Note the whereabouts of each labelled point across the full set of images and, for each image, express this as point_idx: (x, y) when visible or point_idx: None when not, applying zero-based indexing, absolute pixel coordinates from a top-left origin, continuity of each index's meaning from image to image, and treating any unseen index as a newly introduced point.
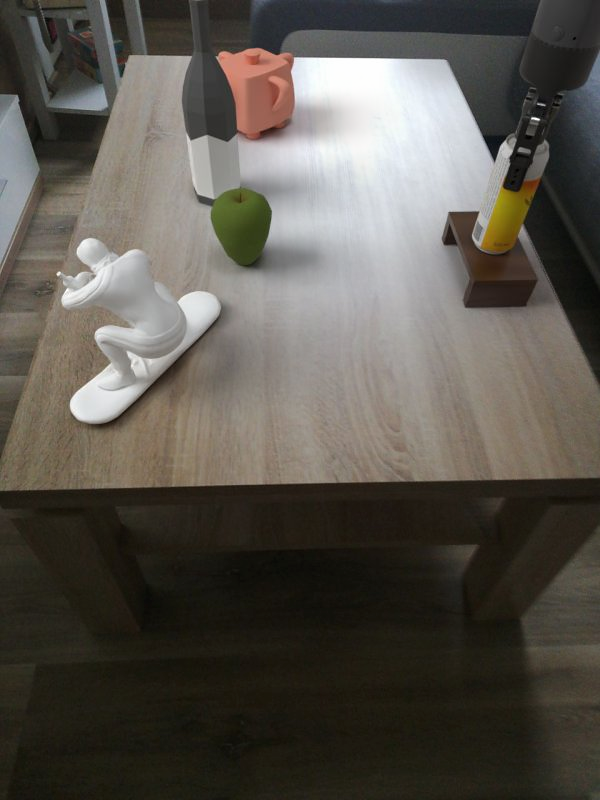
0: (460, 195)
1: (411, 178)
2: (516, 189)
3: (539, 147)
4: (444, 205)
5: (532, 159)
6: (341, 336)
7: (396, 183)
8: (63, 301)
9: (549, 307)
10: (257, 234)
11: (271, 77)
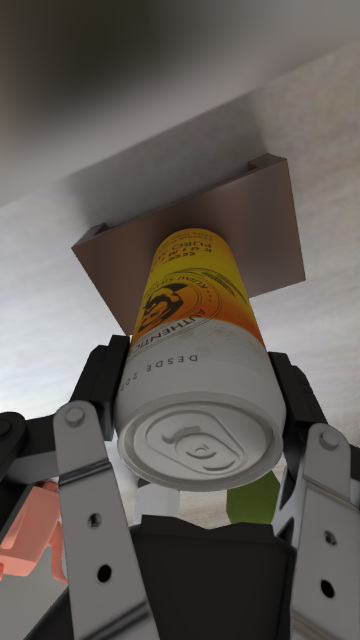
0: (6, 296)
1: (14, 360)
2: (296, 366)
3: (206, 419)
4: (49, 314)
5: (335, 446)
6: (352, 374)
7: (40, 373)
8: None
9: (262, 98)
10: (277, 492)
11: (7, 548)
